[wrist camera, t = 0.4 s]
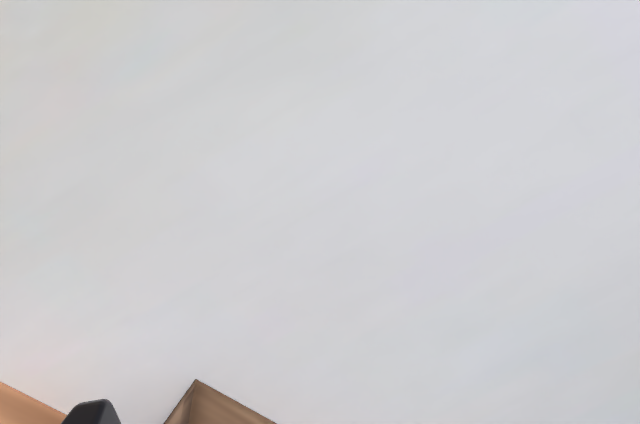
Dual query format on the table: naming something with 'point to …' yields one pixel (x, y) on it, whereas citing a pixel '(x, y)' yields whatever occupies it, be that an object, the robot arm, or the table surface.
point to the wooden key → (25, 409)
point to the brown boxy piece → (212, 409)
